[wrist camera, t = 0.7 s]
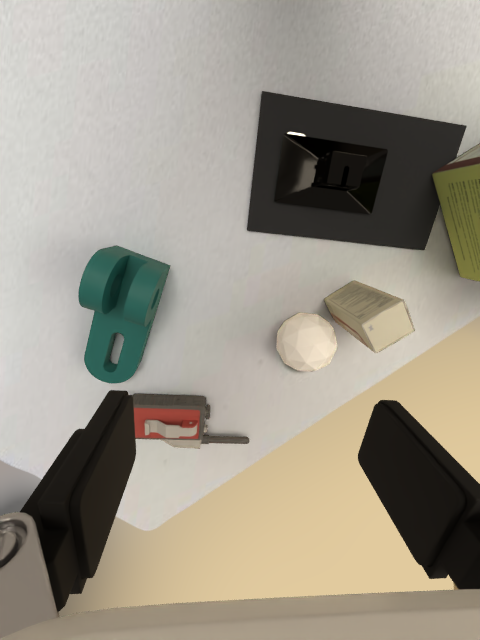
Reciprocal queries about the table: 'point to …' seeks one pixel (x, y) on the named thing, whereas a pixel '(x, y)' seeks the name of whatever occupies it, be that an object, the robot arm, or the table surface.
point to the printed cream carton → (370, 315)
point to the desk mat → (396, 181)
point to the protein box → (462, 209)
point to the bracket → (120, 308)
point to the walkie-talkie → (175, 420)
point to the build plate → (328, 174)
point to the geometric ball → (306, 342)
